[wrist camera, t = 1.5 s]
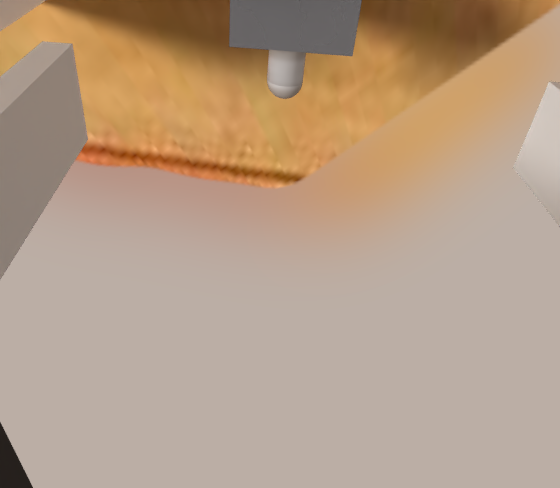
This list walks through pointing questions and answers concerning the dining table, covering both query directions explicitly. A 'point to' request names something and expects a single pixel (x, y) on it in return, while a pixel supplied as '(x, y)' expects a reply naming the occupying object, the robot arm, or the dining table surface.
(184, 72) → the dining table surface
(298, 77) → the peg stand
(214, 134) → the dining table surface
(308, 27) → the grey slotted block
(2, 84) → the robot arm
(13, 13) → the cup
